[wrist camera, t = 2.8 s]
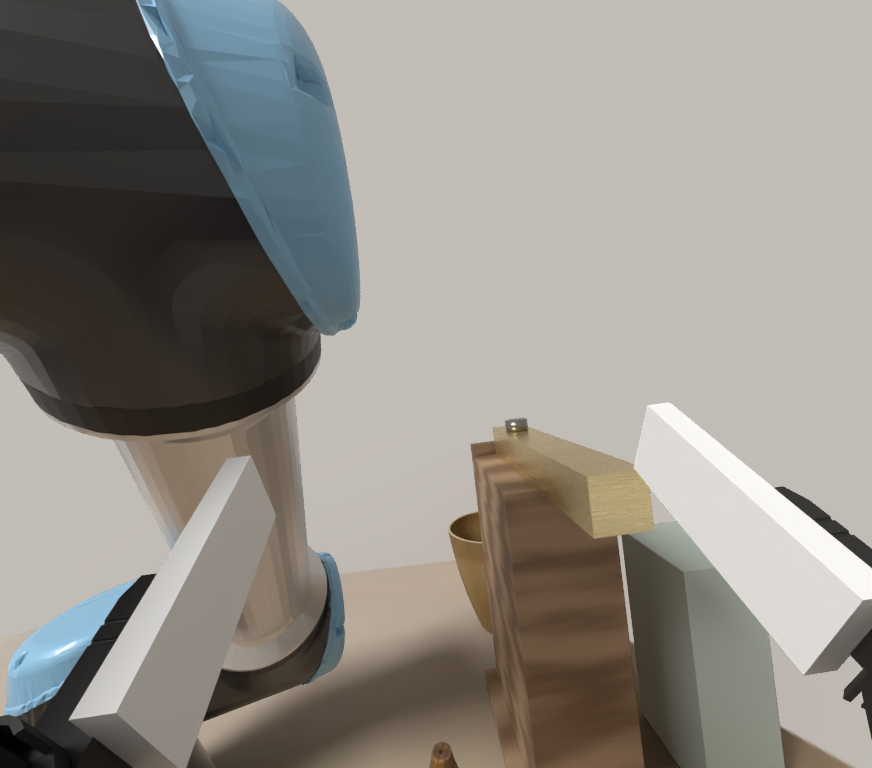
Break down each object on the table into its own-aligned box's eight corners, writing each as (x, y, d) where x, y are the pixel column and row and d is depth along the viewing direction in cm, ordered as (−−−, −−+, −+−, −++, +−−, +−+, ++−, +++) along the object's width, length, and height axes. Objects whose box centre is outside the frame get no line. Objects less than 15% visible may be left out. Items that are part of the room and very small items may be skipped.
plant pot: (550, 658, 52) (536, 544, 52) (448, 646, 57) (436, 541, 57) (552, 597, 66) (541, 507, 66) (470, 591, 71) (460, 508, 71)
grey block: (788, 799, 33) (759, 560, 33) (712, 814, 32) (683, 572, 33) (701, 703, 43) (680, 520, 43) (642, 713, 42) (620, 528, 42)
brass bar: (654, 530, 21) (644, 447, 21) (594, 538, 21) (584, 455, 21) (523, 452, 47) (519, 414, 47) (495, 455, 47) (491, 418, 47)
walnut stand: (679, 852, 30) (632, 462, 30) (532, 880, 30) (486, 481, 30) (574, 667, 50) (546, 433, 50) (486, 681, 49) (458, 444, 50)
